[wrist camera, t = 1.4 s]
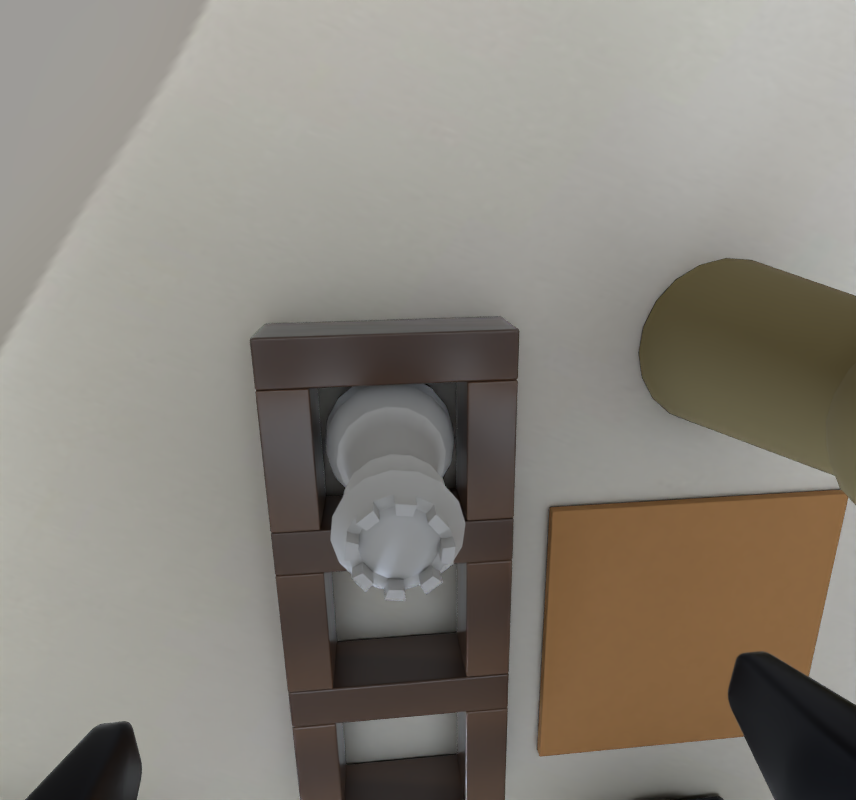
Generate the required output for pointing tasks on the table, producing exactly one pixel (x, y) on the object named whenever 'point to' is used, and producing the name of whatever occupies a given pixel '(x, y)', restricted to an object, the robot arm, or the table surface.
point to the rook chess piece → (393, 487)
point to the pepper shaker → (759, 361)
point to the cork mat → (675, 611)
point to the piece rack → (316, 560)
